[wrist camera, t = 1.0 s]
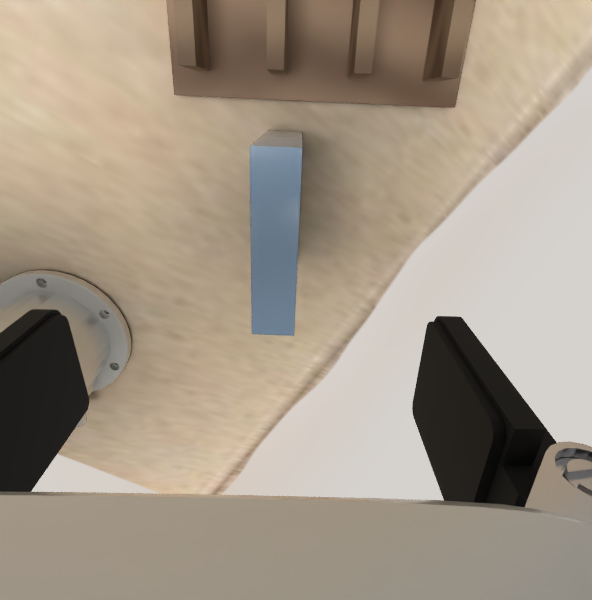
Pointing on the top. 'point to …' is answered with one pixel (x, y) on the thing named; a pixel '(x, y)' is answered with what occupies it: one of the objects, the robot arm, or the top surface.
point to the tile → (275, 230)
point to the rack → (321, 49)
